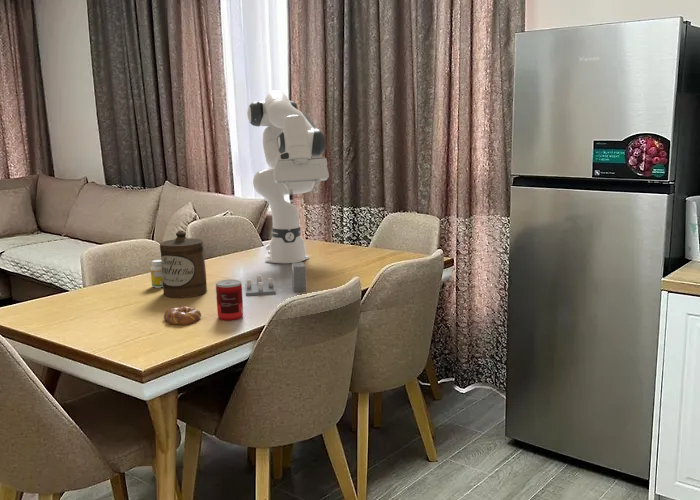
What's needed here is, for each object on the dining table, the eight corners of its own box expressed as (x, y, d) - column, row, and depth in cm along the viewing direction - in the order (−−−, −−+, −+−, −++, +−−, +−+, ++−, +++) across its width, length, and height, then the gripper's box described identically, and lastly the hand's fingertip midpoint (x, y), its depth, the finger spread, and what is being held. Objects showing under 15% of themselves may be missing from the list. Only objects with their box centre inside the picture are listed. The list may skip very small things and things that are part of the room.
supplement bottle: (165, 288, 246) (163, 262, 244) (150, 288, 246) (148, 262, 244) (168, 284, 251) (166, 259, 249) (154, 285, 251) (152, 259, 249)
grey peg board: (245, 286, 245) (244, 276, 244) (273, 285, 247) (272, 274, 246) (246, 295, 233) (245, 284, 232) (275, 294, 234) (275, 282, 233)
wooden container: (154, 296, 235) (149, 233, 230) (179, 286, 248) (175, 226, 244) (191, 299, 230) (187, 235, 225) (215, 289, 243) (211, 228, 239)
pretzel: (203, 324, 202) (202, 312, 201) (164, 328, 199) (164, 316, 198) (199, 313, 213) (199, 302, 212) (163, 317, 210) (162, 305, 209)
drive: (292, 287, 243) (291, 263, 241) (304, 287, 243) (303, 262, 241) (294, 292, 236) (293, 267, 234) (306, 291, 236) (305, 266, 235)
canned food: (233, 312, 213) (231, 278, 211) (248, 317, 207) (246, 282, 205) (212, 317, 208) (210, 282, 206) (227, 322, 202) (225, 286, 200)
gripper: (324, 158, 257) (329, 193, 255) (270, 161, 251) (275, 197, 249) (328, 152, 251) (333, 189, 249) (273, 155, 245) (277, 192, 243)
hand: (303, 193), depth 249 cm, fingers open, 8 cm apart
